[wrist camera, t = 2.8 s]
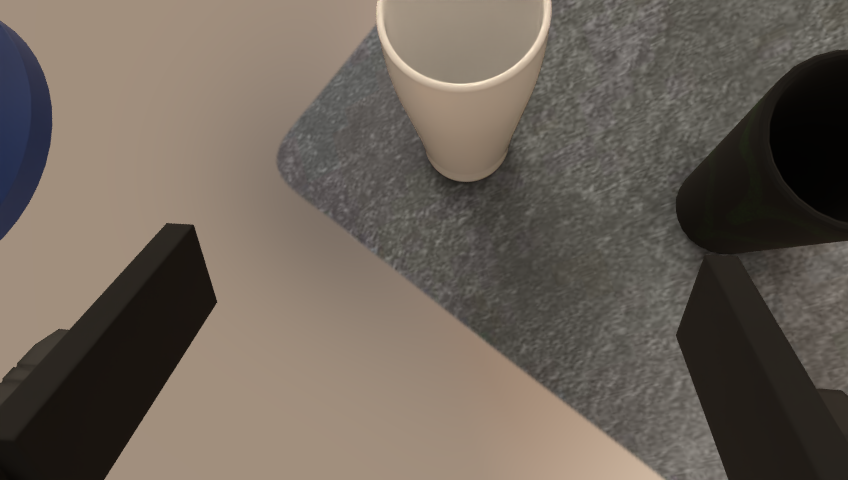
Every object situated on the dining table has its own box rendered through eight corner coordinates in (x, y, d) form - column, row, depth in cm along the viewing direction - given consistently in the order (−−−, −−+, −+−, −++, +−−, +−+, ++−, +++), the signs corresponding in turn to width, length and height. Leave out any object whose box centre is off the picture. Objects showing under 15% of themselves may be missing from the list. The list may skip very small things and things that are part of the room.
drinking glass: (541, 132, 35) (591, -16, 20) (477, 216, 34) (481, 127, 19) (456, 76, 36) (444, -104, 21) (393, 156, 35) (337, 28, 21)
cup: (788, 279, 32) (974, 247, 20) (654, 263, 33) (757, 224, 21) (791, 154, 33) (968, 55, 21) (662, 142, 34) (763, 40, 22)
